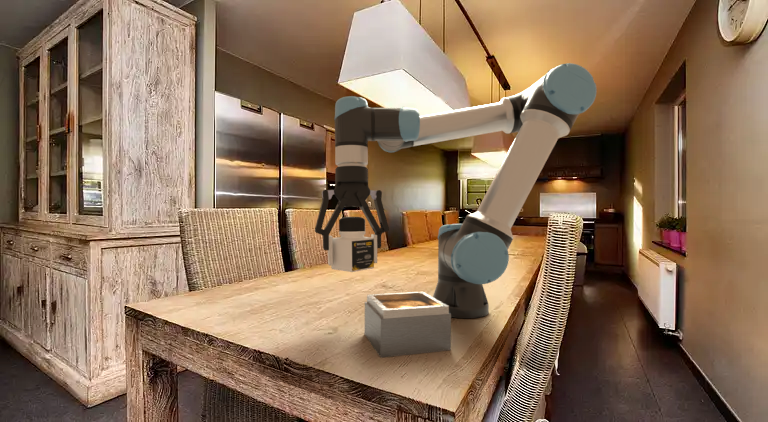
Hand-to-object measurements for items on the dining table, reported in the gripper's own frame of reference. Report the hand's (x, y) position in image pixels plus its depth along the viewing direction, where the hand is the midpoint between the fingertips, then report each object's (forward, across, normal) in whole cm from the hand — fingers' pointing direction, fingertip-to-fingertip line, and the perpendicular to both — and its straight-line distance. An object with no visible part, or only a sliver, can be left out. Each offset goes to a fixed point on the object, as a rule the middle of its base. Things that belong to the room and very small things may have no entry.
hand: (352, 263), depth 84 cm
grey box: (+15, -8, +12) cm, 21 cm away
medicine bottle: (+1, 0, 0) cm, 1 cm away
